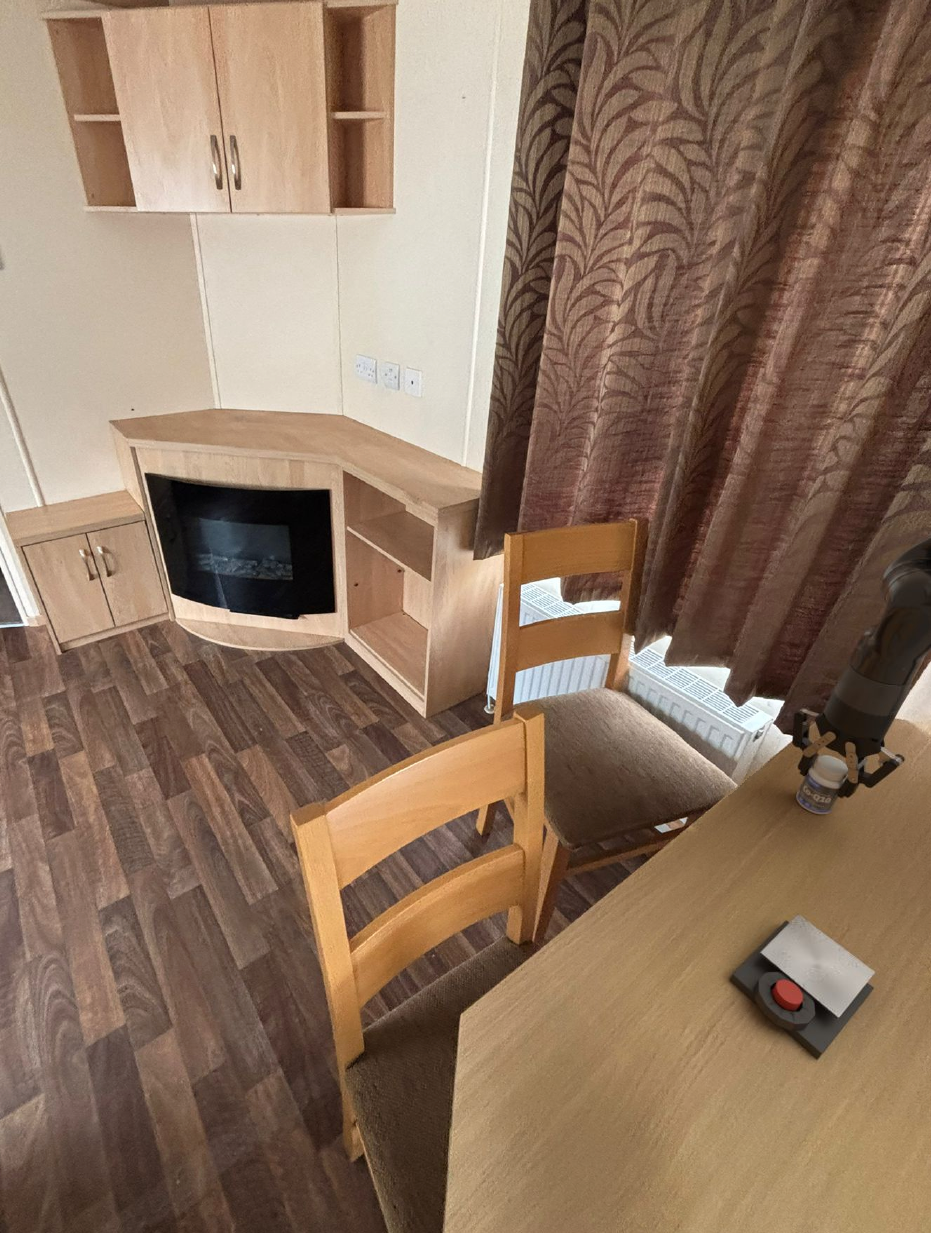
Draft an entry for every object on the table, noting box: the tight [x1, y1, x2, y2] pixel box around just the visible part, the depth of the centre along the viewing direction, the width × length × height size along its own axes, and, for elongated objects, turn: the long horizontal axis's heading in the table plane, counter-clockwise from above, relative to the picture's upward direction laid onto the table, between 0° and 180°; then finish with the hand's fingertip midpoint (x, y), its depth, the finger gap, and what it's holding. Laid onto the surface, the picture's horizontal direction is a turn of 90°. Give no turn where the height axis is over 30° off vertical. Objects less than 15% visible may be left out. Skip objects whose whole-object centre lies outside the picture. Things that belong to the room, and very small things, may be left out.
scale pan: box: [760, 913, 876, 1019], centre depth 71 cm, size 9×9×1 cm
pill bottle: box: [795, 754, 848, 815], centre depth 93 cm, size 5×5×8 cm
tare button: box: [772, 980, 803, 1011], centre depth 68 cm, size 3×3×1 cm
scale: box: [729, 920, 875, 1060], centre depth 70 cm, size 13×10×3 cm
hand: (823, 783), depth 92 cm, fingers closed on pill bottle, 4 cm apart
